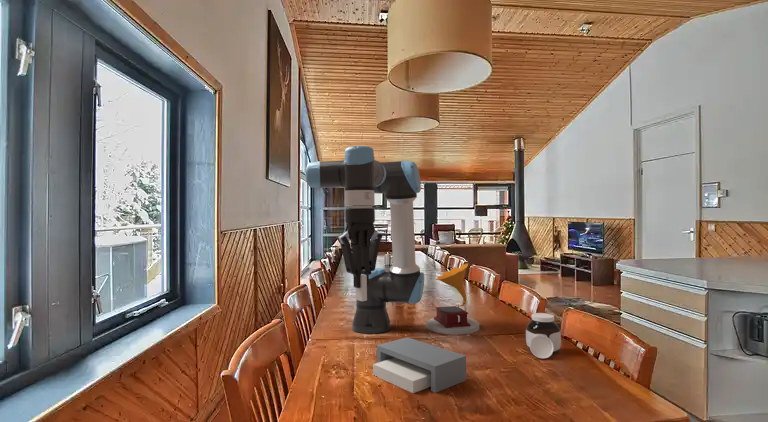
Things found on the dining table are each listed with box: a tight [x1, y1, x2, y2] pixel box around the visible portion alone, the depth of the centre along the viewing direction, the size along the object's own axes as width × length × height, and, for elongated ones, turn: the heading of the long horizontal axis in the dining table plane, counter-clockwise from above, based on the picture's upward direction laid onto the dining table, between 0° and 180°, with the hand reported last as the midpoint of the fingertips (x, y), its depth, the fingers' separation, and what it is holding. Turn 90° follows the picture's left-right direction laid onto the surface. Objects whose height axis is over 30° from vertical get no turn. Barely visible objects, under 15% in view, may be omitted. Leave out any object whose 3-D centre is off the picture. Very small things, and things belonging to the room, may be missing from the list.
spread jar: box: [525, 312, 562, 360], centre depth 132 cm, size 12×11×12 cm
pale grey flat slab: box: [372, 357, 431, 394], centre depth 113 cm, size 16×10×3 cm, turn 40°
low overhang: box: [376, 337, 467, 394], centre depth 117 cm, size 23×12×6 cm, turn 40°
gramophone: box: [426, 263, 480, 336], centre depth 165 cm, size 20×20×25 cm
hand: (361, 300), depth 107 cm, fingers closed
